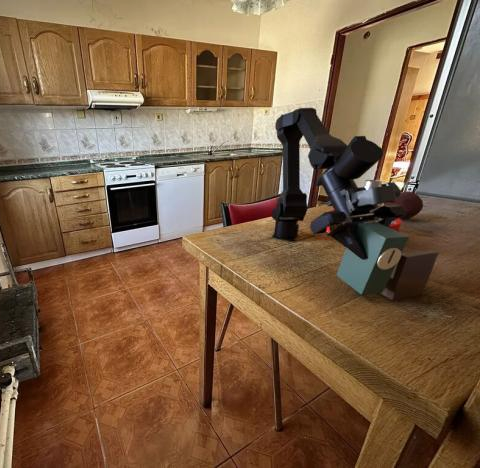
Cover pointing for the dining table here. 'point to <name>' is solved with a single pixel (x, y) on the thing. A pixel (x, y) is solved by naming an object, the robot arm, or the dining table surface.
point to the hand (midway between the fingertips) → (376, 257)
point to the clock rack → (410, 275)
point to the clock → (372, 258)
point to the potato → (408, 204)
